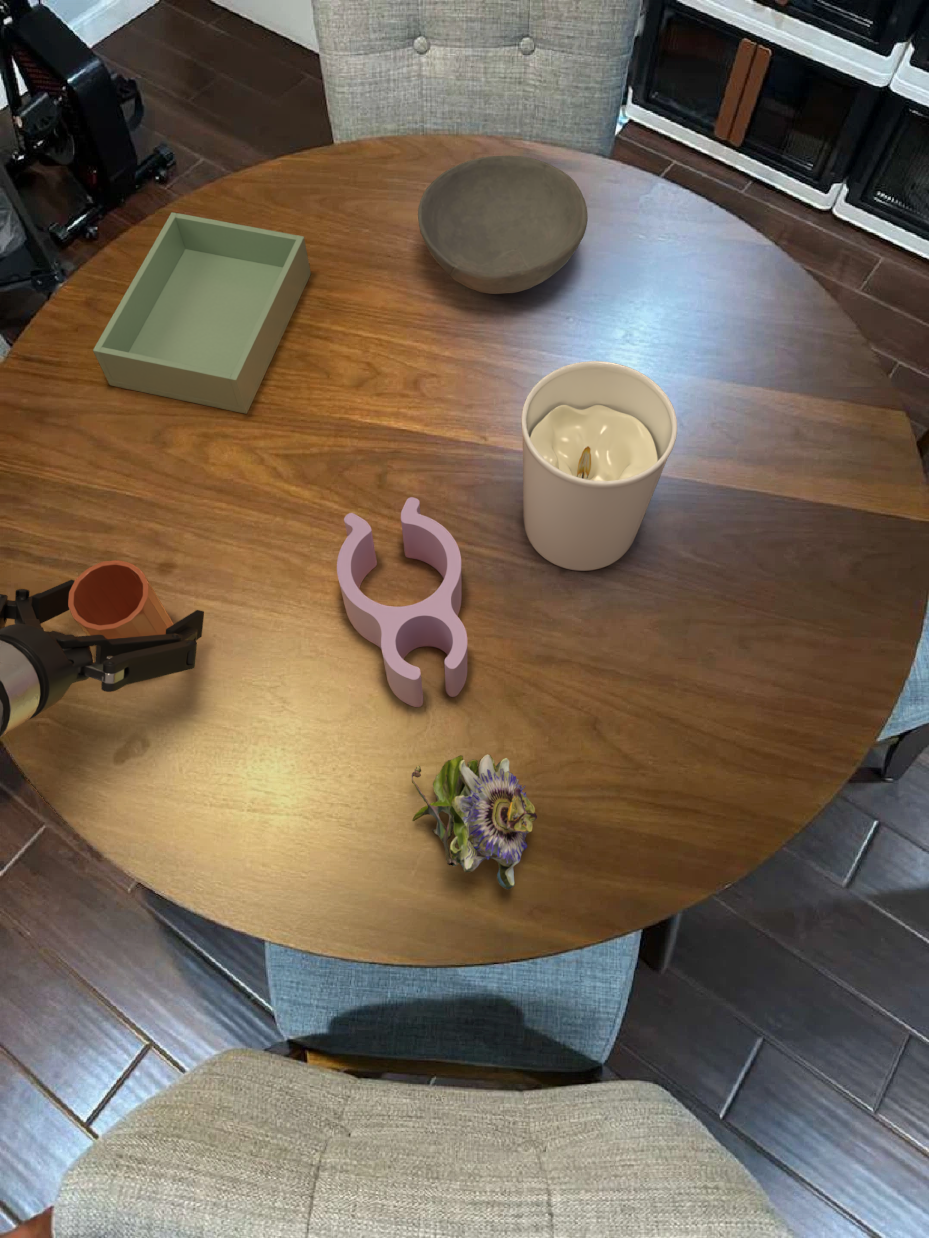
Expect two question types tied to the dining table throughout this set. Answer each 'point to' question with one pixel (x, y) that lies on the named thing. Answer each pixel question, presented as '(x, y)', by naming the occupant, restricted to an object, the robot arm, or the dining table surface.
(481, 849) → the passion flower
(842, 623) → the dining table surface
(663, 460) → the candle holder
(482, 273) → the bowl
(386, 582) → the dining table surface
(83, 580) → the cup
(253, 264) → the green tray
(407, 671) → the clip
